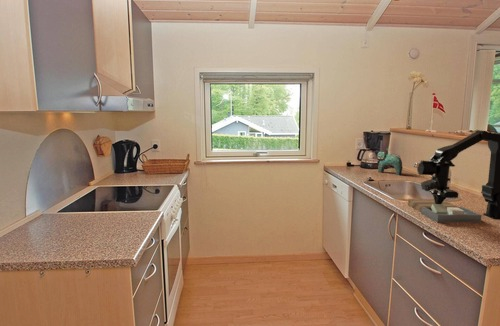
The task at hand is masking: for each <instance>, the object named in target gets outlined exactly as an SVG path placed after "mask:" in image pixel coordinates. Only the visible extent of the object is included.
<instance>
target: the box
mask: <svg viewBox="0 0 500 326" xmlns="http://www.w3.org/2000/svg"><path fill="white" fill-rule="evenodd" d="M459 208H460V209H462V210H463V211H464V214H449V213H447V214H437V213H435V212H433V211H432V210H429V209H427V208H426V207H422V209H421V212H420V214H421V215H423V216H425V217H427V218H428V219H430V220H432V221H434V222H435V223H437V224H438V223H439V224H440V223H442V224H443V223H445V224H446V223H447V224H449V223H454V224H455V223H456V224H457V223H464V224H465V223H466V224H467V223H468V224H469V223H472V224H473V223H479V224H480V223H482V222H481V221H482V215H483V214H480V213H478V212H476V211H473V210H471V209H469V208H466V207H464V206H459Z"/></svg>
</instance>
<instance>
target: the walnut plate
mask: <svg viewBox="0 0 500 326" xmlns="http://www.w3.org/2000/svg"><path fill="white" fill-rule="evenodd" d="M432 204H435V201H434V199H407V206H409V207H411V208H413V209H414V210H416V211H417V212H420V213H421V209H422V207H426V208H427V209H429V210H432V209H431V206H432ZM442 204H443V205H444V206H445V208H446V209H447V207H454V208H460V206H458V205H455V204H453V203H450V202H449V201H446V200H444V201H443V202H442Z"/></svg>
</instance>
